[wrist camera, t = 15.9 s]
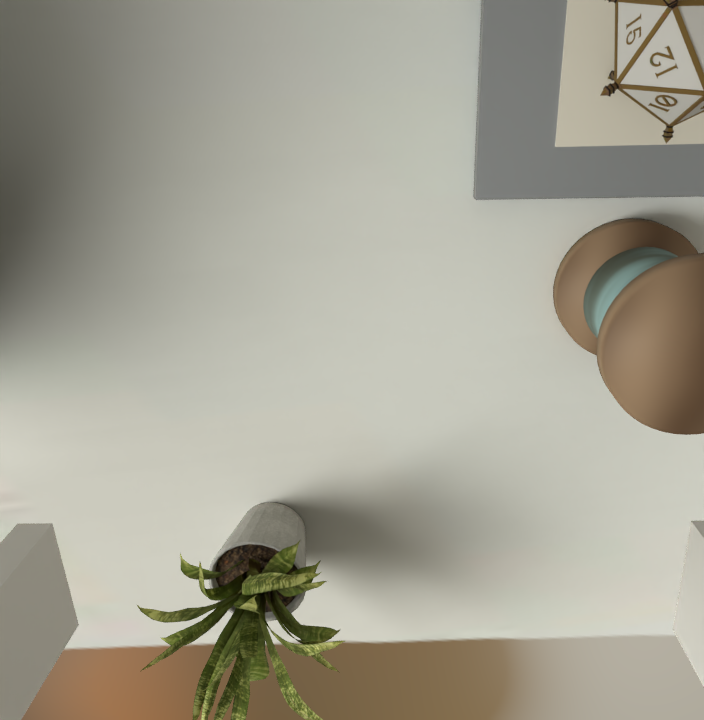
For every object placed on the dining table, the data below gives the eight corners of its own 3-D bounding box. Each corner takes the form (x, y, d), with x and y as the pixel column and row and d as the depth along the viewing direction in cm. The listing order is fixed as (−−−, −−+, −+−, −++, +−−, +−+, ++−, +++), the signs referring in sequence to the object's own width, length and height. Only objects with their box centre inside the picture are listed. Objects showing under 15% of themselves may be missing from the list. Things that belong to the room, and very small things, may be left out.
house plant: (378, 608, 54) (367, 806, 38) (217, 615, 55) (146, 807, 40) (357, 458, 49) (335, 618, 33) (181, 471, 50) (84, 628, 35)
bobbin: (547, 351, 44) (595, 433, 33) (559, 219, 41) (616, 260, 30) (683, 352, 44) (778, 435, 32) (706, 217, 40) (821, 259, 29)
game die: (661, 22, 38) (854, -78, 30) (659, 165, 38) (851, 109, 30) (548, -19, 34) (733, -149, 25) (546, 141, 34) (729, 67, 26)
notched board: (473, 196, 41) (476, 200, 39) (486, -104, 35) (489, -113, 34) (804, 191, 39) (821, 195, 38) (875, -124, 34) (898, -136, 32)
